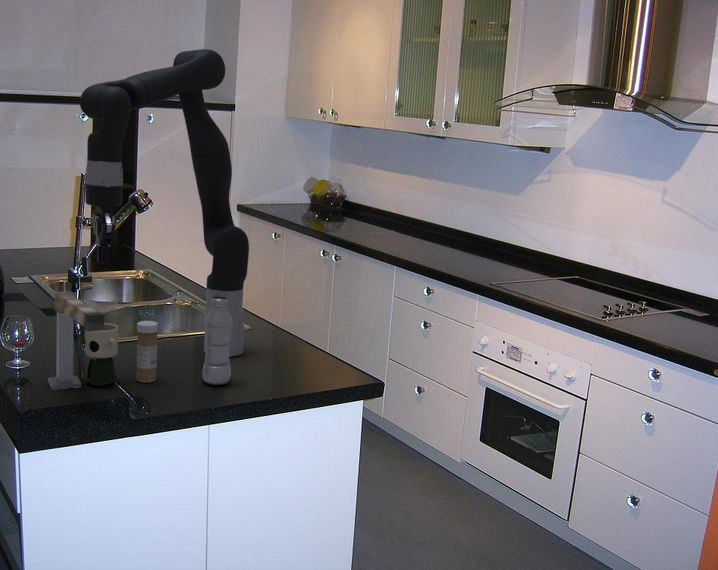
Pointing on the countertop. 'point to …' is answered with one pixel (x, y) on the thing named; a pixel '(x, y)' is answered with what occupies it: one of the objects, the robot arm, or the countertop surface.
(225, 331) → the plastic bottle
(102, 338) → the character mug
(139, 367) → the sprinkles bottle
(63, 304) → the swing arm
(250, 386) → the countertop surface
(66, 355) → the post
